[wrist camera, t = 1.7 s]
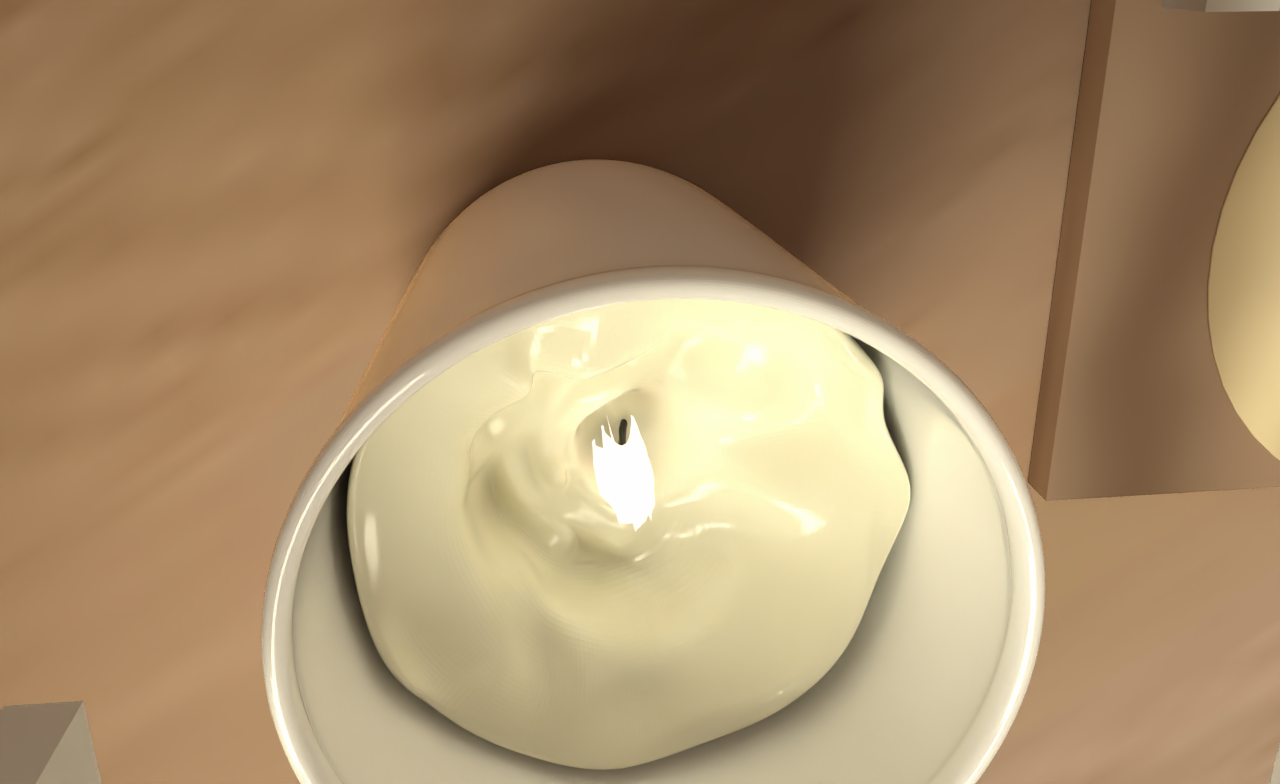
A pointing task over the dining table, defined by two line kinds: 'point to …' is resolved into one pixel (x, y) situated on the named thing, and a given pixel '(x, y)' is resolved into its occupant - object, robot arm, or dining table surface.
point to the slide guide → (1168, 259)
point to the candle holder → (648, 520)
